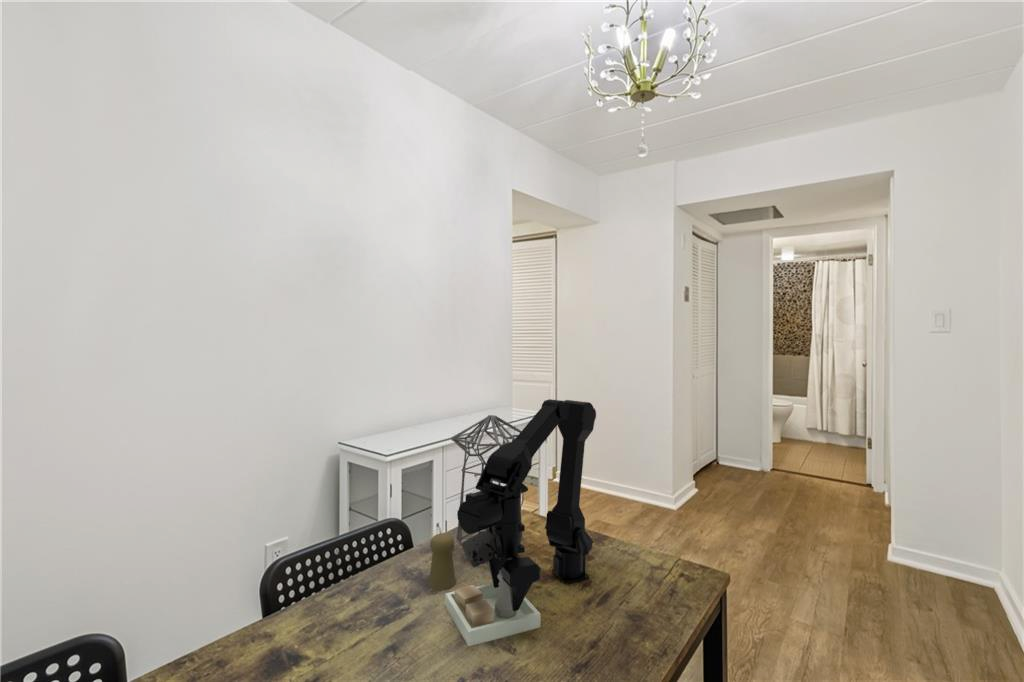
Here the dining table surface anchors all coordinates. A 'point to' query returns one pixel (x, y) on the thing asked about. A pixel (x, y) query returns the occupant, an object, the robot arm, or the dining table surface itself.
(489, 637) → the tray
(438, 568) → the cork
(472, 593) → the beech block
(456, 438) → the geometric lantern
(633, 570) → the dining table surface
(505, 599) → the rook chess piece
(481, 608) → the beech block
